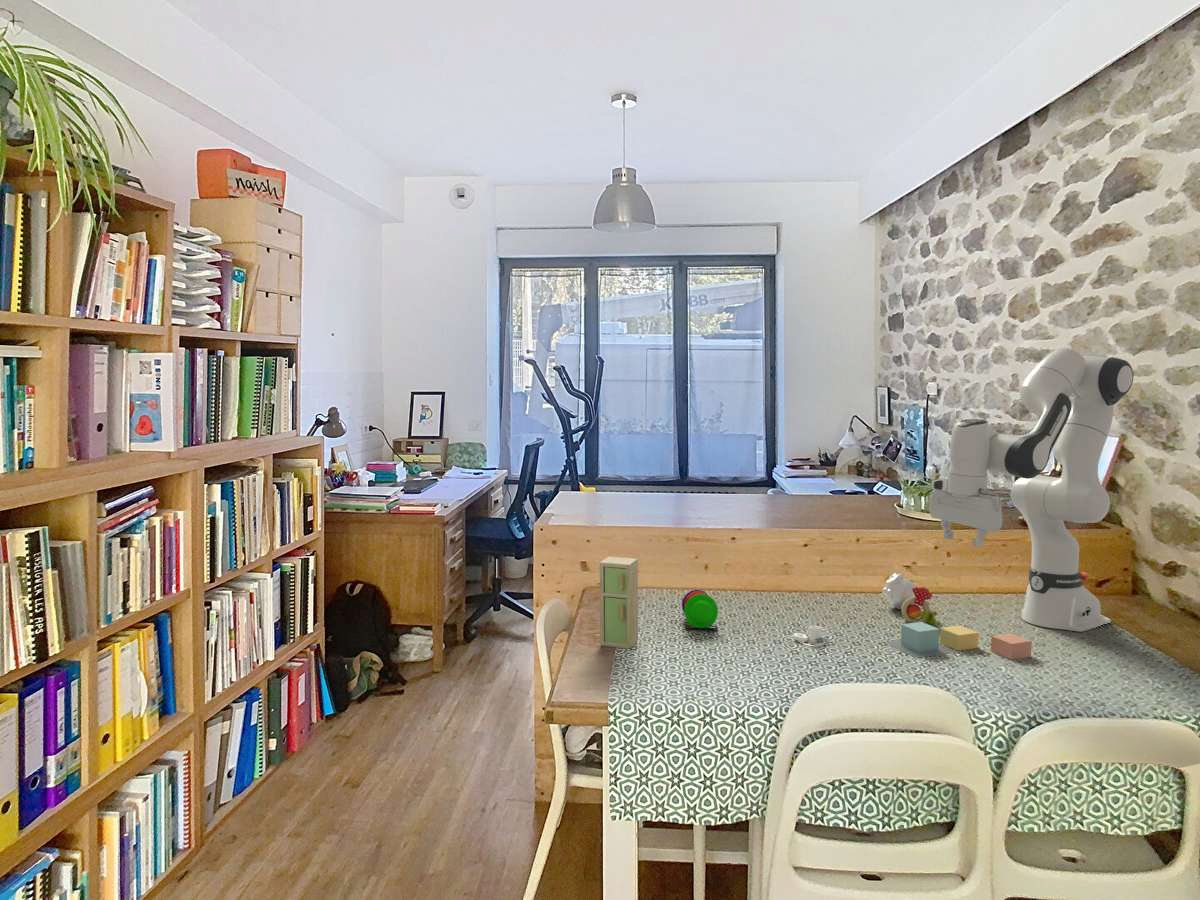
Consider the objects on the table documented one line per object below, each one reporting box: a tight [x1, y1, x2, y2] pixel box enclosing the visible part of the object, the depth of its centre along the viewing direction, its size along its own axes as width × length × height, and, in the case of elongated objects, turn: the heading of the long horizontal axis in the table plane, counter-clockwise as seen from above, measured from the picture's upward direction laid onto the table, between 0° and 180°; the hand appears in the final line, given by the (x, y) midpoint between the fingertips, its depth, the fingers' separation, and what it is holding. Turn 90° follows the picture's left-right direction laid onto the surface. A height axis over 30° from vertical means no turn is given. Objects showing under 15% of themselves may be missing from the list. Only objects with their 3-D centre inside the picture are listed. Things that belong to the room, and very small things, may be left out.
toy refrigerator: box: [599, 556, 639, 649], centre depth 205 cm, size 8×7×21 cm
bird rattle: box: [900, 586, 939, 627], centre depth 220 cm, size 6×11×9 cm
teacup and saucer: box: [792, 624, 828, 648], centre depth 208 cm, size 9×8×4 cm
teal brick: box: [900, 622, 940, 652], centre depth 200 cm, size 6×6×5 cm
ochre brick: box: [939, 624, 979, 651], centre depth 202 cm, size 6×6×5 cm
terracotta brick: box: [990, 632, 1033, 660], centre depth 196 cm, size 6×6×5 cm
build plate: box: [882, 639, 957, 659], centre depth 201 cm, size 12×12×1 cm
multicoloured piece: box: [681, 589, 719, 629], centre depth 222 cm, size 9×10×15 cm
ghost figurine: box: [881, 573, 917, 610], centre depth 236 cm, size 9×10×10 cm
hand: (962, 542), depth 203 cm, fingers open, 8 cm apart
